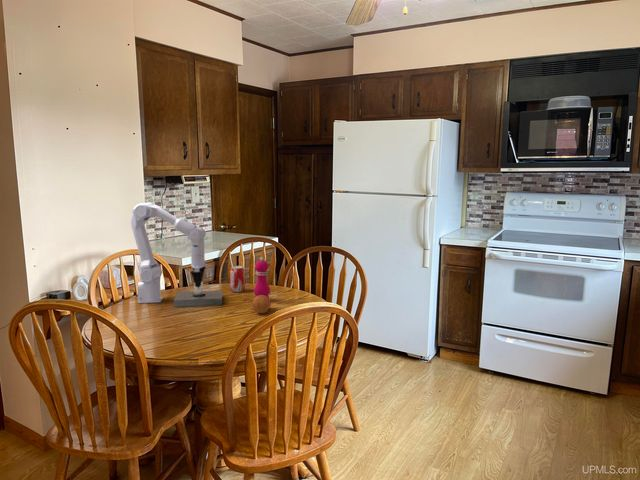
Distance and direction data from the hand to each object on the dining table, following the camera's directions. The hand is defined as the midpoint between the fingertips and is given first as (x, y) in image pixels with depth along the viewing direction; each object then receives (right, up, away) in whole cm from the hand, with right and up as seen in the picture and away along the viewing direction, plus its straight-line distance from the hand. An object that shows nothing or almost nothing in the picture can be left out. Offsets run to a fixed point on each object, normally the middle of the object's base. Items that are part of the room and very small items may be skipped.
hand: (198, 284), depth 212 cm
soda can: (+14, -5, +21) cm, 25 cm away
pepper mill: (+28, -8, +4) cm, 29 cm away
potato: (+30, -10, -13) cm, 34 cm away
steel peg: (0, -8, +1) cm, 8 cm away
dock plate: (0, -8, +1) cm, 8 cm away
